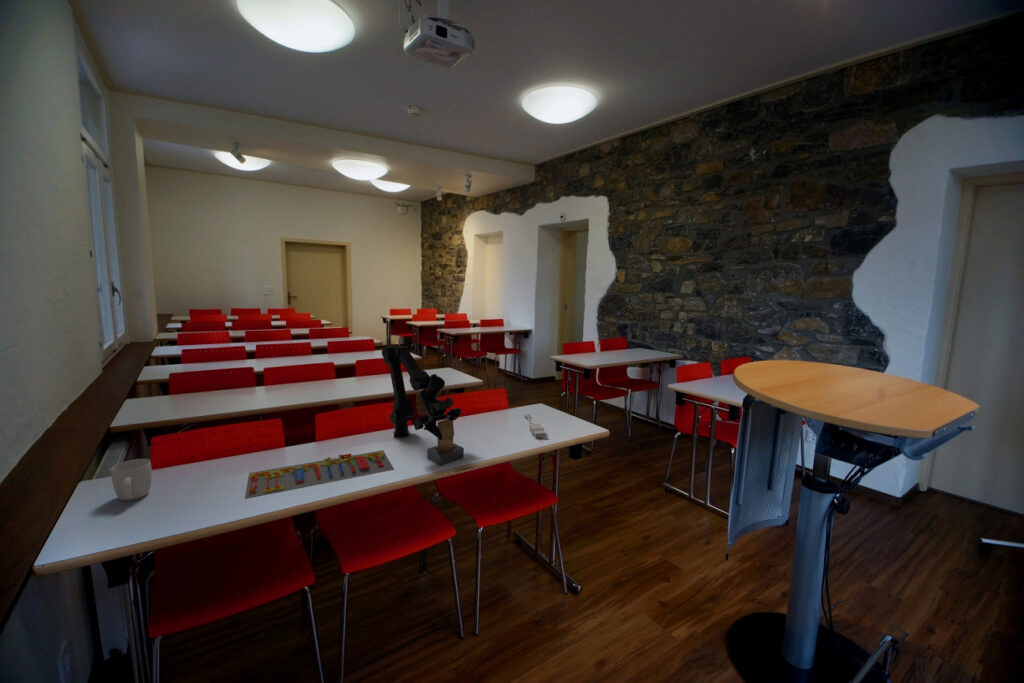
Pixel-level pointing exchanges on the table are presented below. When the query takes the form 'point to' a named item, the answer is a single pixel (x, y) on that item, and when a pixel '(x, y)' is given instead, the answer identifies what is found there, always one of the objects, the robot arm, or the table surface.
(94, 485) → the table surface
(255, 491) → the gear board
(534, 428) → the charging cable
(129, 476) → the mug
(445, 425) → the brown wooden block
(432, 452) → the grey block holder
